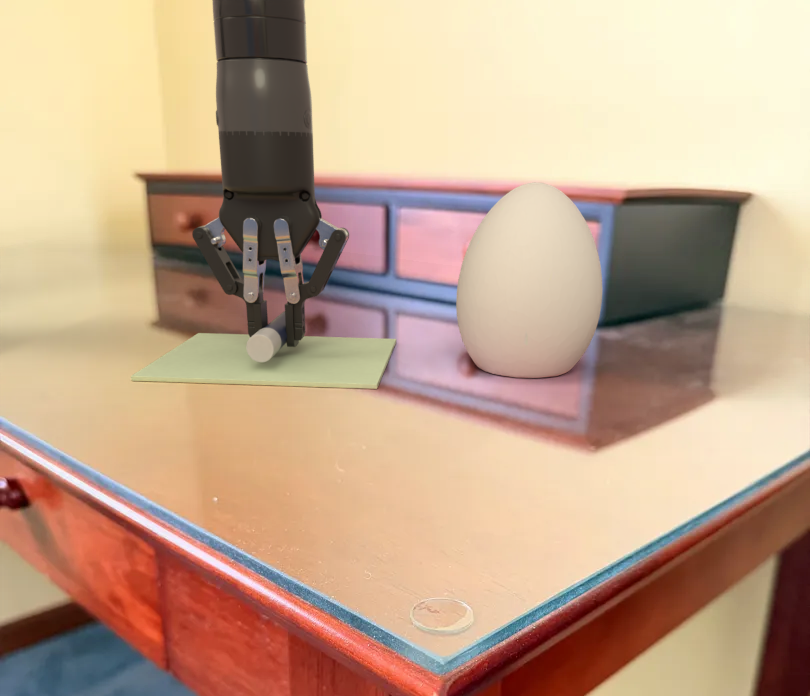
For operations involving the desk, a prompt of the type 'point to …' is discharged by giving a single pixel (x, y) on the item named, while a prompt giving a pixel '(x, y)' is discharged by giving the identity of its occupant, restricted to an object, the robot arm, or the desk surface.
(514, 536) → the desk surface
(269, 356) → the marker
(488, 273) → the decorative egg
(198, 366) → the desk mat
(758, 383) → the desk surface
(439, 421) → the desk surface
